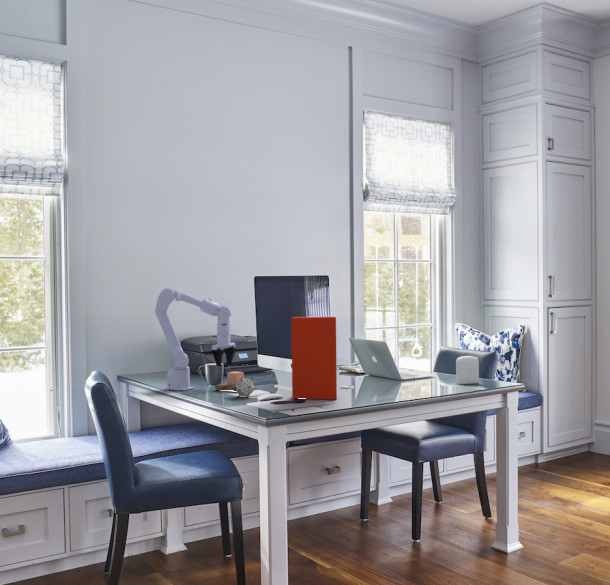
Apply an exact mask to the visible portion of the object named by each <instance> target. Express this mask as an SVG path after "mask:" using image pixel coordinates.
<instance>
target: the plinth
mask: <svg viewBox="0 0 610 585" xmlns="http://www.w3.org/2000/svg"><path fill="white" fill-rule="evenodd" d="M253 384H254V386H255V385H256V383H255V382H253ZM255 387H256V386H255ZM214 389H215V390H234V391H237V389H236V387H235V386H234V385H228V384H227V382H223V383H219V384H215V387H214Z"/></svg>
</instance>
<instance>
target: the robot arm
mask: <svg viewBox="0 0 610 585" xmlns="http://www.w3.org/2000/svg"><path fill="white" fill-rule="evenodd" d="M173 301H175V302H181V301H182V302H185V303H188V304H189V305H193V306H196V307H198V308H199V310H200V311H201V312H202V313H204V314H206V315H207V314H208V316H209V315H210V316H212V317H217V323H216V338H217V339H216V342H217V343H216V344H212V345H211V350H210V353H211V354H212V356H213V359H214V361H215V366H216V367H221V366H222V363H223V362H222V361H223V354H224V353H225V360H226V362H225V363H226V364H227V365H232V364H233V360H234V356H235V355H236V354H235V353H236V351H237V347H236V342H231V322H230V321H231V320H230V319H231V315H232V313H231V309H229V308H228V307H227V306H225V305H222V303H217V302H214V301H212V299H210V298H206V299H199V298H197V297H195V296H192V295H190V294H188V293H185V292H184V291H180V290H176V289H174V290H173V289H171V288H169V287H168V288H164V289H162V290H161V291H160V293H159V294H158V296H157V300H156V303H155V304H156V305H155V310H154V313H155V316H156V318H157V320H158V323H159V325H160V327H161V329H162V332H163V334H164V337H165V339H166V342H167V343H168V346H169V348H170V351H171V353H172V356H173V364H174V366H172V368H170V369H168V371H167V374H166V388H165V389H166V390H169V389H170V391H180V390H182V392H183V390H184V391H187V390H192V388H193V389H195V387H194V386H191V384H190V382H191V380H190V378H191V376H190V375H191V372H190V366H189V362H190V360H189V356H188V354H187V353H185V352H184V351H183V348H182V346H181V344H180V340H179V339H178V337H177V335H176V334H177V333H176V332H175V329H174V327H173V323H172V322H171V320H170V317H169V315H168V312H167V311H168V309H169V307H170V305H171V304H172V303H173Z"/></svg>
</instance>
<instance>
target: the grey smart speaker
mask: <svg viewBox="0 0 610 585" xmlns="http://www.w3.org/2000/svg"><path fill="white" fill-rule="evenodd" d="M479 364H480V363H479V358H478V357H477V356H473V355H461V356H459V357H457V358H456V360H455V373H456V374H455V375H456V376H455V378H456V385H469V384H470V385H473V384H480V383H479V382H480V376H479V375H480V369H479V368H480V365H479Z"/></svg>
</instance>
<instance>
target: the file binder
mask: <svg viewBox="0 0 610 585" xmlns="http://www.w3.org/2000/svg"><path fill="white" fill-rule="evenodd" d="M337 377H338V376H337V317H336V316H292V317H291V393H292V394H291V396H292V399H298V398H306V399H320V400H337V399H338V397H337V396H338V390H337V389H338V388H337V385H338V384H337V382H338V381H337V379H338V378H337Z"/></svg>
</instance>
